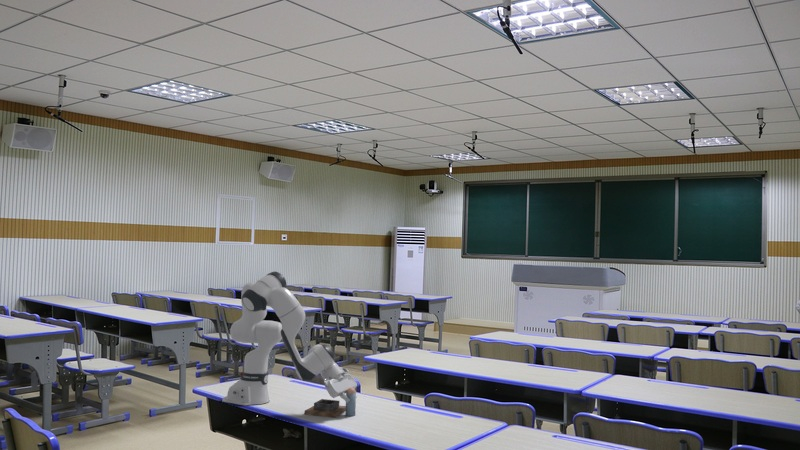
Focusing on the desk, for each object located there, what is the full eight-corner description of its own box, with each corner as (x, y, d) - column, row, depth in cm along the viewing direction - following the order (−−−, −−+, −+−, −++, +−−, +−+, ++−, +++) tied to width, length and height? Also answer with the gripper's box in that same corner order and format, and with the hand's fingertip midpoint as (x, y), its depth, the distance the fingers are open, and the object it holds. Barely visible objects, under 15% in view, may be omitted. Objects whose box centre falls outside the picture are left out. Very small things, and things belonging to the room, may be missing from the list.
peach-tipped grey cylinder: (343, 415, 276) (344, 388, 277) (347, 413, 281) (348, 386, 281) (353, 416, 275) (354, 389, 276) (356, 414, 279) (357, 387, 280)
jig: (304, 414, 277) (304, 403, 277) (318, 406, 292) (318, 396, 292) (335, 417, 273) (335, 407, 273) (347, 409, 287) (348, 399, 288)
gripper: (326, 375, 272) (345, 400, 268) (348, 368, 291) (366, 391, 287) (317, 384, 274) (336, 409, 269) (339, 376, 292) (357, 400, 288)
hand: (352, 400), depth 278 cm, fingers closed on peach-tipped grey cylinder, 4 cm apart
